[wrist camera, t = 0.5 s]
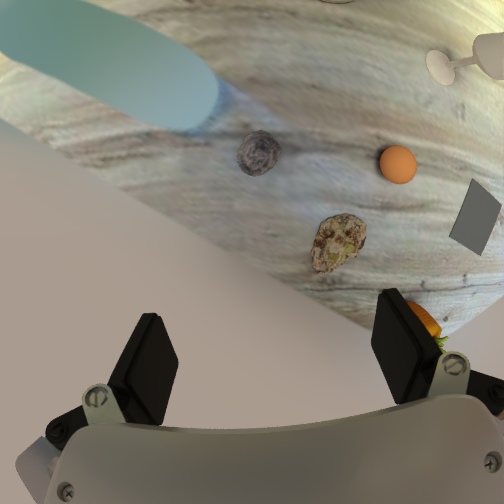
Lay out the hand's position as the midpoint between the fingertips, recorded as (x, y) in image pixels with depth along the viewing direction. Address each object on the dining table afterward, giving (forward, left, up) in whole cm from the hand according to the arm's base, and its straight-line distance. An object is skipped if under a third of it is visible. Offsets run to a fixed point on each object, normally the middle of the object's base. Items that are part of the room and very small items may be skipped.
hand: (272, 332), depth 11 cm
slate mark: (-11, +41, -30) cm, 52 cm away
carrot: (+10, +33, -30) cm, 45 cm away
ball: (-11, +17, -27) cm, 34 cm away
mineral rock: (+3, +14, -30) cm, 33 cm away
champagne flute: (-32, +21, -30) cm, 49 cm away
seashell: (-5, -2, -30) cm, 30 cm away
